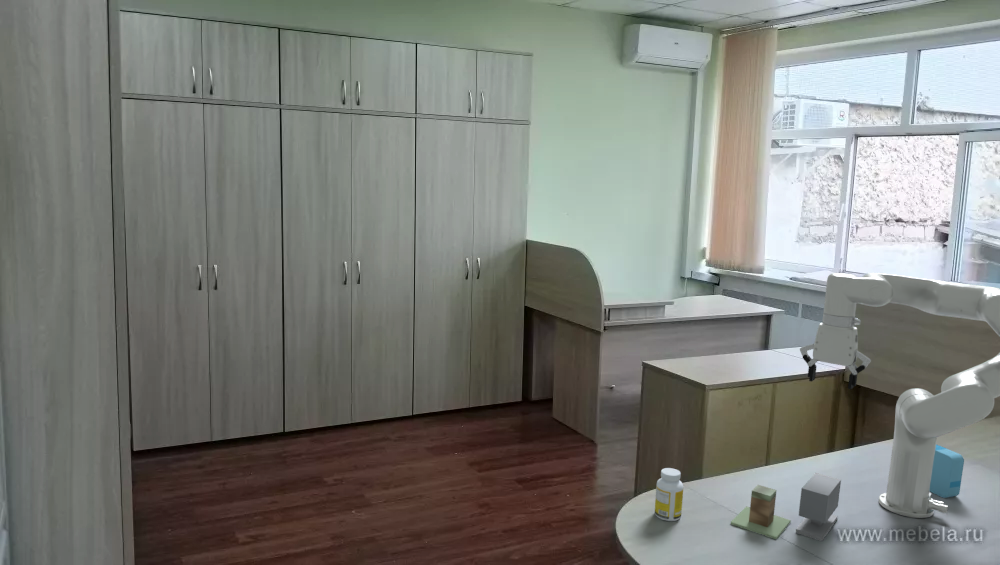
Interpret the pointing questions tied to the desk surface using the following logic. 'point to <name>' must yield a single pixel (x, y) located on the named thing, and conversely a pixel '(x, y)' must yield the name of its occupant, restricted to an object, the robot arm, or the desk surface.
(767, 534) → the mat
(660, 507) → the pill bottle
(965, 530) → the desk surface
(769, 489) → the brown and green block
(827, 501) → the mounted unit
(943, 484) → the data package
